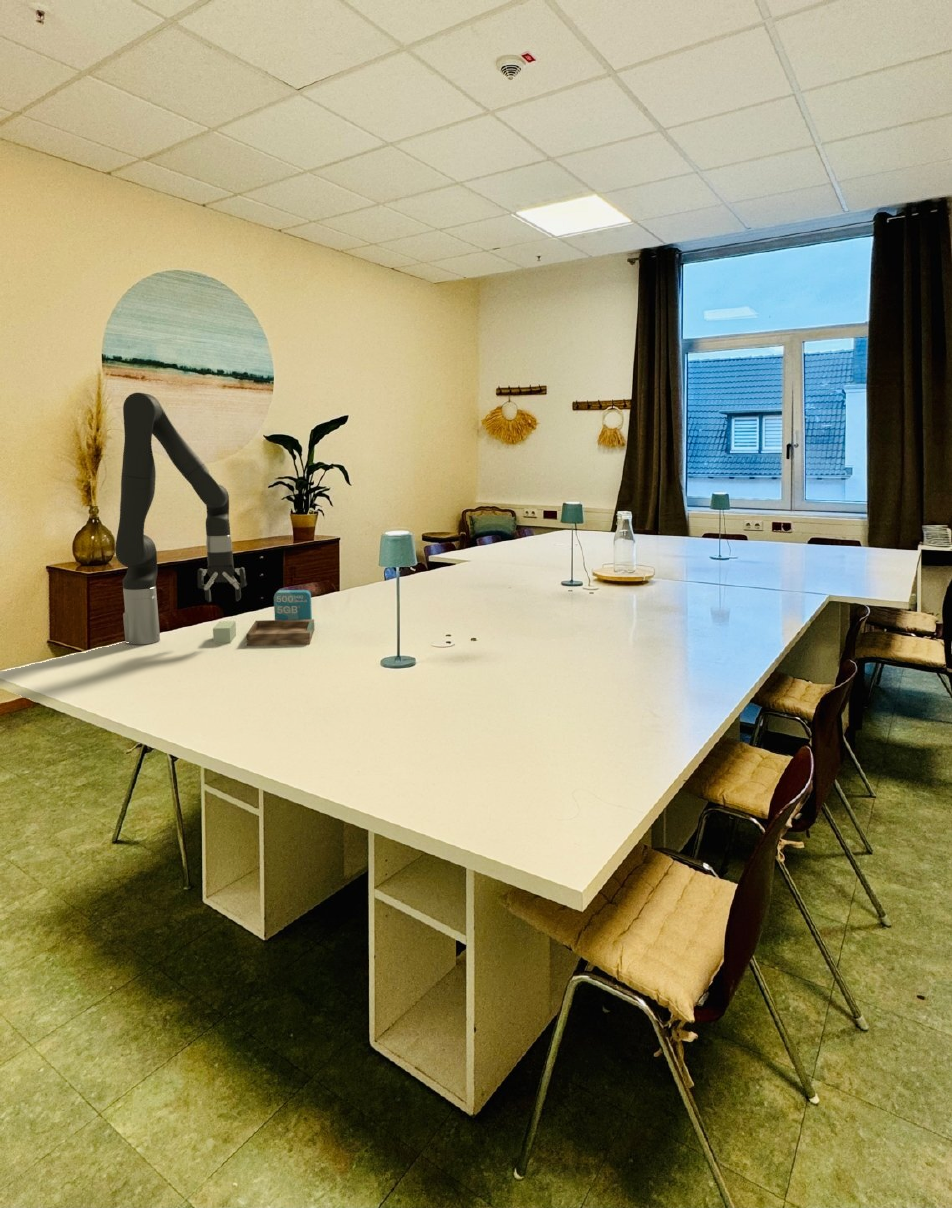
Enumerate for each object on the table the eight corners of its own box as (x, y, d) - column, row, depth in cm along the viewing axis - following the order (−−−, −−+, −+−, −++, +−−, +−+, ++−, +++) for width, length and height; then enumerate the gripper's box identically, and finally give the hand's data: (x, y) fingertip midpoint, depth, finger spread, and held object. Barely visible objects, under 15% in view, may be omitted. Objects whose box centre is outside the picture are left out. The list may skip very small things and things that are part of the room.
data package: (275, 627, 248) (273, 592, 246) (276, 624, 252) (275, 590, 250) (310, 626, 250) (309, 592, 247) (312, 623, 254) (310, 589, 252)
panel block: (213, 644, 226) (212, 628, 225) (220, 636, 235) (219, 621, 234) (230, 643, 226) (229, 628, 225) (236, 636, 236) (235, 621, 235)
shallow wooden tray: (246, 645, 223) (246, 634, 222) (256, 630, 242) (255, 620, 242) (309, 644, 226) (309, 633, 225) (314, 629, 245) (314, 619, 245)
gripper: (192, 551, 220) (197, 604, 224) (241, 550, 222) (244, 602, 225) (198, 548, 228) (202, 599, 231) (245, 547, 230) (248, 598, 233)
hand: (223, 601), depth 228 cm, fingers open, 8 cm apart
